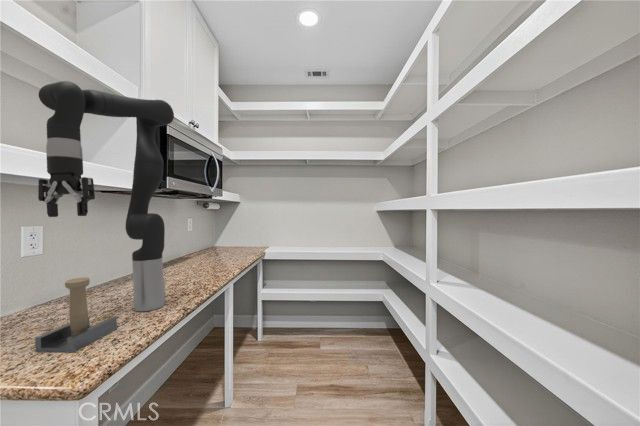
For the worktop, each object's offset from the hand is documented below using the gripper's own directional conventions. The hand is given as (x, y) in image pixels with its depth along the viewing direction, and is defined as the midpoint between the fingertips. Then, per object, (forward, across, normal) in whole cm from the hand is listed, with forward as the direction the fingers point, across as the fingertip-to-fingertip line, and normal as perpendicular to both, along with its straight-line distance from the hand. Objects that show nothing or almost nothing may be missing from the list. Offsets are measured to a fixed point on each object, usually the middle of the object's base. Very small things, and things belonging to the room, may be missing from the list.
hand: (67, 216), depth 82 cm
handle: (+32, -4, +2) cm, 33 cm away
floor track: (+33, -4, +2) cm, 33 cm away
